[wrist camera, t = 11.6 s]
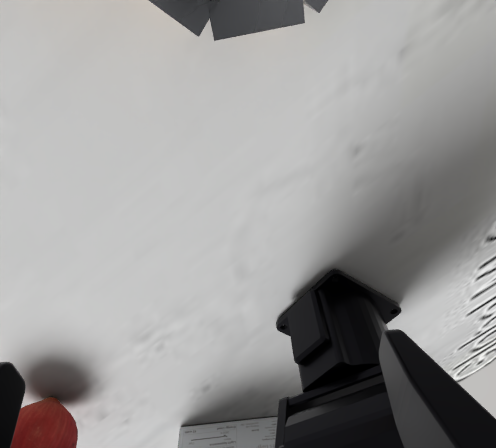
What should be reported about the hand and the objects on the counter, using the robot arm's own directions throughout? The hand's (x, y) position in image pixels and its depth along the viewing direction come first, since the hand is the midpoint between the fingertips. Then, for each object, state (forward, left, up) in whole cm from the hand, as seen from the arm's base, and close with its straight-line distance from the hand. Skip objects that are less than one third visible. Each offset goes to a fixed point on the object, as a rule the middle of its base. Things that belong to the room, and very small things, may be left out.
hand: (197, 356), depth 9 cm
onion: (-1, +27, -13) cm, 30 cm away
